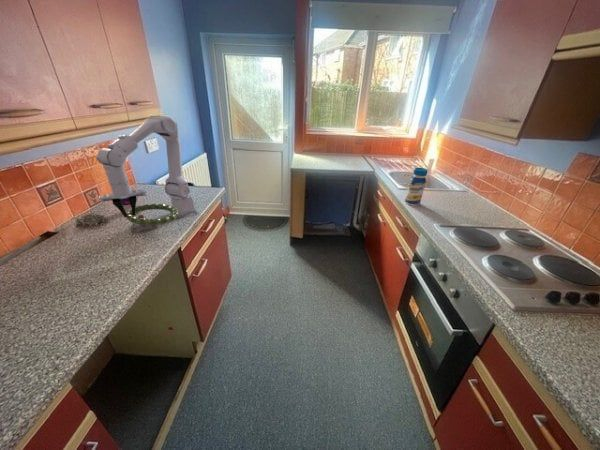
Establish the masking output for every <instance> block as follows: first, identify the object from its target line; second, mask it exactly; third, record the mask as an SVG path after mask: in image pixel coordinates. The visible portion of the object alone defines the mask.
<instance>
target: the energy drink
mask: <svg viewBox="0 0 600 450" xmlns="http://www.w3.org/2000/svg"><path fill="white" fill-rule="evenodd" d="M121 201H122V204H123V207H124V209H125V212H126V213H127V212H128V211H129V210H130V209H132V208H131V205H130V202H129V198H125V199H121ZM135 207H137V205H136V206H135Z"/></svg>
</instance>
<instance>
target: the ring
mask: <svg viewBox="0 0 600 450" xmlns="http://www.w3.org/2000/svg"><path fill="white" fill-rule="evenodd" d="M151 210H152V211H153V210H159V211H160V210H161V211H167V212H170V213H171V214H169V215H167V216H164V217H159V218H144V219H142V218H138V216H136V215H135V216H134V215H133V212H132V209H130V210H129V211H128V212H127V213H126V216H127V217H126V219H127V220H128V221H129V222H130V223H132V224H136V225H139V226H141V225H144V226H158V225H160V226H161V225H165V224H167V223H171V222H173V221H175V220H176V219H177V218H178V217H179V216H180V215H179V212H178V210H177V209H176V208H174V207H173V206H172V205H169V204H164V203H149V204H148V203H147V204H141V205H136V207H135V214H138V213H140V212H144V211H151Z"/></svg>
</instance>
